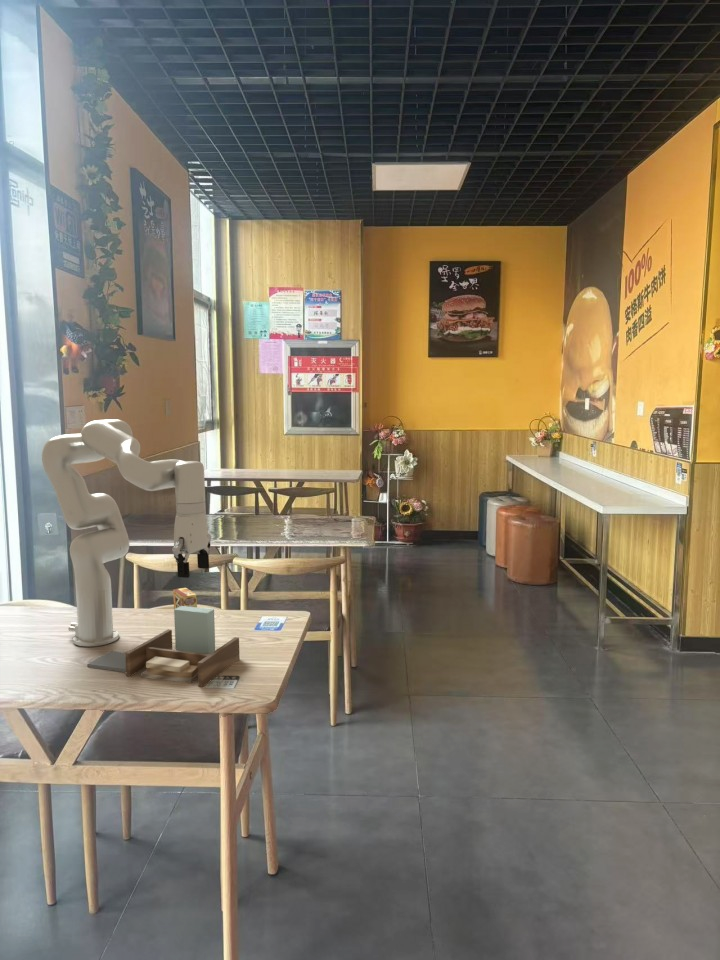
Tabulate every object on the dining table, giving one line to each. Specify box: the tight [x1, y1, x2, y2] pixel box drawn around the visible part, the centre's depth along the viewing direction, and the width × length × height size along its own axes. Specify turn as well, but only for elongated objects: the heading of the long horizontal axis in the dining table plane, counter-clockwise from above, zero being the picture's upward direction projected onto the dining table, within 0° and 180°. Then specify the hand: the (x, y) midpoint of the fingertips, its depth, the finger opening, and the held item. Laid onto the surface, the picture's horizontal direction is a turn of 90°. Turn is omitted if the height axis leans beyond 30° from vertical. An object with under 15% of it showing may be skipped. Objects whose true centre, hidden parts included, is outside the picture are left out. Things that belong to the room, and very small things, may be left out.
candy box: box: [172, 587, 198, 610], centre depth 204 cm, size 9×4×15 cm, turn 33°
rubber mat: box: [86, 650, 126, 673], centre depth 191 cm, size 13×10×1 cm
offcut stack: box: [141, 657, 198, 684], centre depth 182 cm, size 14×5×4 cm, turn 74°
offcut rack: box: [125, 629, 241, 688], centre depth 187 cm, size 22×19×6 cm
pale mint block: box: [173, 606, 216, 654], centre depth 192 cm, size 10×4×14 cm, turn 72°
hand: (193, 572), depth 190 cm, fingers open, 9 cm apart
